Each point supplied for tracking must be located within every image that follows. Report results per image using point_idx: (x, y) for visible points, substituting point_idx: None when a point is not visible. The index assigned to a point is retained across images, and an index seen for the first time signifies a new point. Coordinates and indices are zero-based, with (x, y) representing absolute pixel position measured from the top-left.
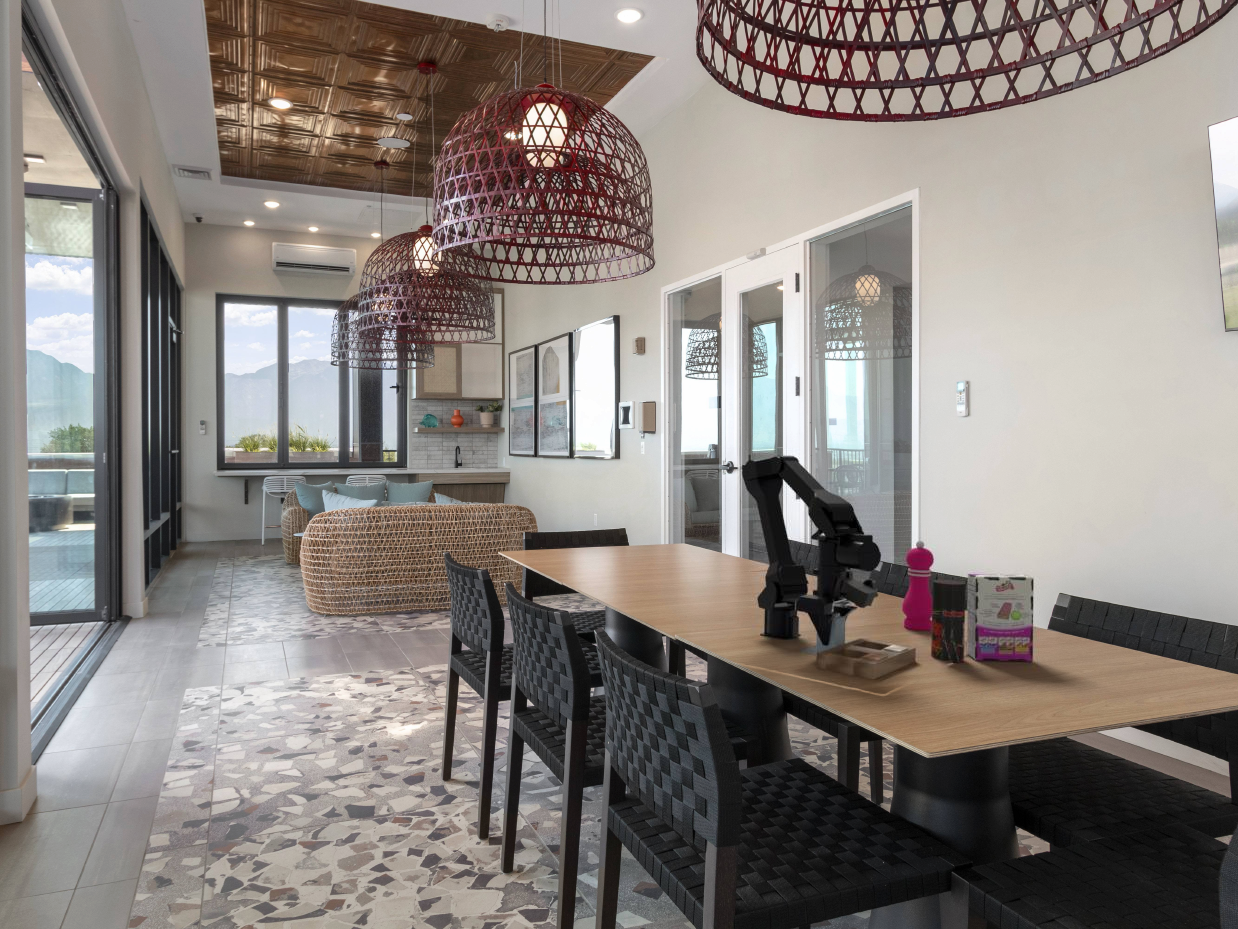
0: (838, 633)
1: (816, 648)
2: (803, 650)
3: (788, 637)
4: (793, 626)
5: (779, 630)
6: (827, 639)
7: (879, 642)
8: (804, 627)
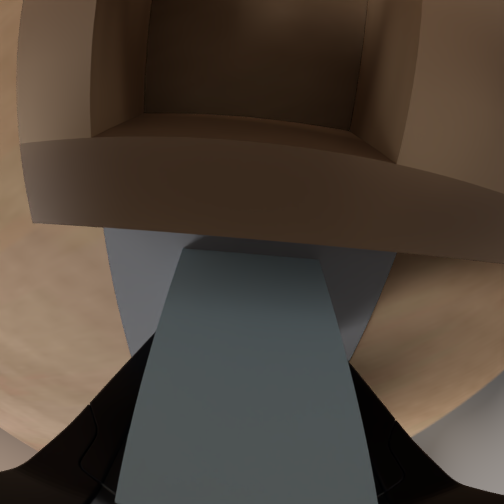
0: (293, 372)
1: None
2: None
3: None
4: None
5: None
6: (351, 367)
7: (58, 15)
8: (16, 409)
